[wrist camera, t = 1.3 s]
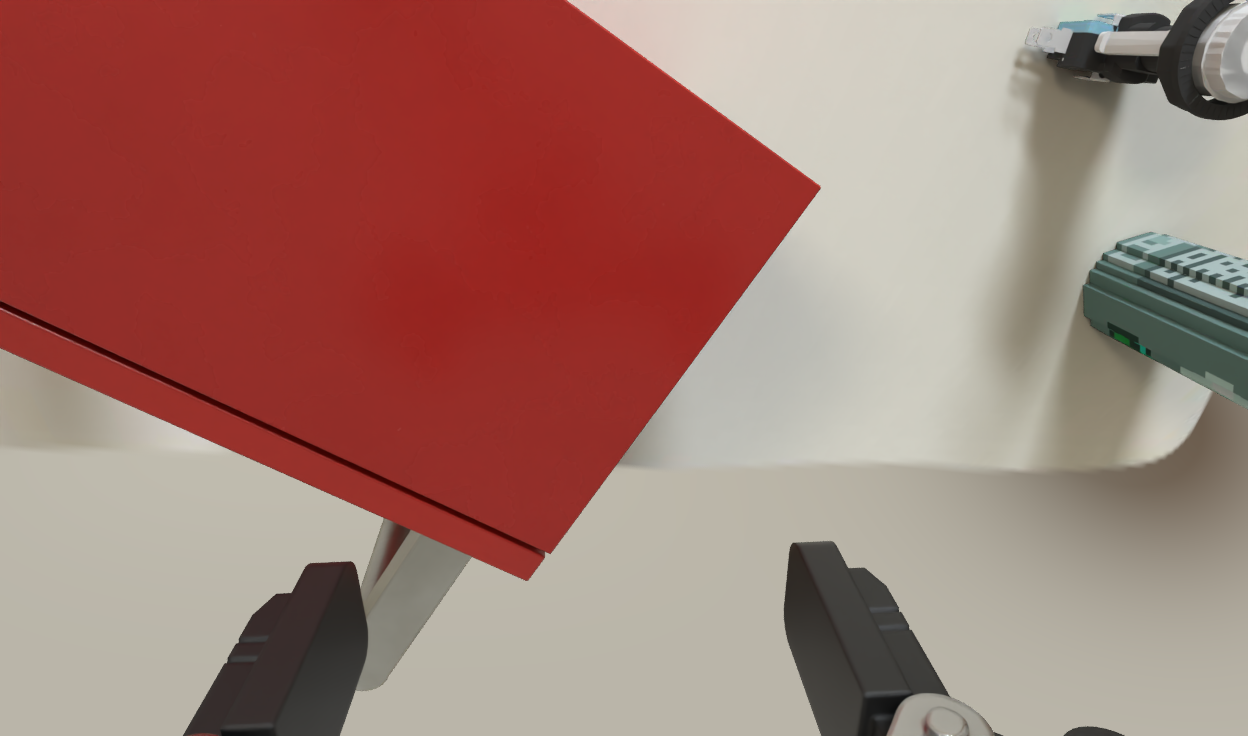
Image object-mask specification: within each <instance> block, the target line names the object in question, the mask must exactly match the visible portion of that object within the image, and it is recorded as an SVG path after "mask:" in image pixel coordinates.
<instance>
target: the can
mask: <svg viewBox="0 0 1248 736" xmlns="http://www.w3.org/2000/svg"><path fill="white" fill-rule="evenodd" d="M1083 296H1084V316H1085V317H1087V318H1089V319H1091V326H1092V327H1094V328H1096V329H1097V330H1099V331H1101V332H1103V333H1104V334H1106V335H1108V336H1110V337H1112V338H1113V339H1115V340H1117V341H1119V342H1121V343H1123V344H1125V345H1127V346H1129V347H1130V348H1132V349H1134V350H1136V351H1138V352H1140V353H1142V354H1144V355H1146V356H1147V357H1149V358H1151V359H1153V360H1155V361H1157V362H1159V363H1161V364H1163V365H1165V366H1166V367H1168V368H1170V369H1172V370H1174V371H1176V372H1178V373H1180V374H1182V375H1183V376H1185V377H1187V378H1189V379H1191V380H1193V381H1195V382H1197V383H1199V384H1200V385H1202V386H1204V387H1206V388H1208V389H1210V390H1212V391H1214V392H1216V393H1217V394H1220V395H1221V396H1223V397H1225V398H1227V399H1229V400H1231V401H1233V402H1235V403H1236V404H1238V405H1240V406H1242V407H1244V408H1246V409H1248V261H1247V260H1244V259H1241V258H1238V257H1235V256H1232V255H1228V254H1225V253H1222V252H1219V251H1216V250H1213V249H1210V248H1206V247H1203V246H1200V245H1197V244H1194V243H1191V242H1187V241H1184V240H1181V239H1178V238H1175V237H1172V236H1169V235H1165V234H1164V235H1159V234H1156V233H1153V232H1149V233H1146V234H1143V235H1139V236H1136V237H1133V238H1130V239H1126V240H1123V241H1120V242H1117V249H1115V250H1112V251H1109V252H1106V253H1103V260H1101V261H1098V262H1096V269H1093V270H1090V283H1088V284H1085V285H1083Z"/></svg>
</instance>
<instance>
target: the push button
mask: <svg viewBox="0 0 1248 736" xmlns="http://www.w3.org/2000/svg"><path fill="white" fill-rule="evenodd" d="M1232 1H1234V0H1194V1H1192V2H1191V3H1190V4H1188V5H1187V6H1186V7H1185V8H1184V9H1183V10H1182V12H1181V13H1180V15H1179V17H1178V18H1177V20H1176V21H1175V23H1174V25H1173V26H1171V25H1170V22H1171V21H1170V20H1169V19H1168V18H1167V17H1165V16H1164V15H1161V14H1157V13H1141V14H1131V15H1127V16H1125V15H1121V14H1116V13H1115V14H1098V15H1097V16H1098V17H1102V18H1107V19H1112V20H1113V21H1112V24H1111V25H1110V24H1106V23H1105V22H1100V21H1093V20H1084V21H1075V22H1060V24H1059V27H1058V29H1055V28H1046V27H1043V28H1041V29H1038V28H1033V27H1032V28H1030V29H1029V32H1028V35H1027V38H1026V41H1025V44H1027V45H1031V46H1036V47H1041V48H1043V51H1044V52H1049V54H1048V57H1047V58H1050V59H1055V60H1059V62H1058V64H1057V66H1058V67H1062V68H1067V69H1075V70H1083V71H1091V72H1092V75H1091V76H1090V77H1086V76H1074V78H1079V79H1084V80H1089V81H1100V82H1110V81H1113V82H1117V83H1129V84H1139V83H1156V82H1157V80H1158V78H1159V79H1160V82H1161V84H1162V87H1163V89H1164V92H1165V94H1166V97H1167V99H1168V101H1169V102H1170V103H1171V104H1173V105H1175V106H1177V107H1179V108H1181V109H1183V110H1185V111H1188V112H1190V113H1191V114H1193V115H1195V116H1198V117H1200V118H1204V119H1212V120H1227V119H1233V118H1237V117H1240V116H1243V115H1245V114H1247V113H1248V0H1246V1H1245V2H1243V3H1237V4H1229V3H1231V2H1232ZM1036 33H1039V35H1038V38H1037V41H1036V42H1035V41H1034V40H1033V37H1034V35H1035V34H1036ZM1201 95H1202V96H1213V97H1214V99H1211V100H1208V101H1207V100H1206V99H1204V98H1203V97H1202V96H1201Z"/></svg>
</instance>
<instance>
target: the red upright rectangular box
mask: <svg viewBox="0 0 1248 736" xmlns="http://www.w3.org/2000/svg"><path fill="white" fill-rule="evenodd" d="M820 188H821V187H820V186H819V185H818V184H817V183H815V182H814V181H813V180H811V179H810V178H809V177H807V176H806V175H804V174H803V173H802V172H800V171H799V170H798V169H796V168H795V167H793V166H792V165H791V164H789V163H788V162H787V161H785V160H784V159H783V158H781V157H780V156H778V155H777V154H776V153H774V152H773V151H772V150H770V149H769V148H768V147H766V146H765V145H763V144H762V143H761V142H759V141H758V140H757V139H755V138H754V137H753V136H751V135H750V134H748V133H747V132H746V131H744V130H743V129H742V128H740V127H739V126H737V125H736V124H735V123H733V122H732V121H731V120H729V119H728V118H727V117H725V116H724V115H722V114H721V113H720V112H718V111H717V110H716V109H714V108H713V107H712V106H710V105H709V104H707V103H706V102H705V101H703V100H702V99H701V98H699V97H698V96H697V95H695V94H694V93H692V92H691V91H690V90H688V89H687V88H686V87H684V86H683V85H681V84H680V83H679V82H677V81H676V80H675V79H673V78H672V77H671V76H669V75H668V74H666V73H665V72H664V71H662V70H661V69H660V68H658V67H657V66H656V65H654V64H653V63H651V62H650V61H649V60H647V59H646V58H645V57H643V56H642V55H641V54H639V53H638V52H636V51H635V50H634V49H632V48H631V47H630V46H628V45H627V44H625V43H624V42H623V41H621V40H620V39H619V38H617V37H616V36H615V35H613V34H612V33H610V32H609V31H608V30H606V29H605V28H604V27H602V26H601V25H600V24H598V23H597V22H595V21H594V20H593V19H591V18H590V17H589V16H587V15H586V14H585V13H583V12H582V11H580V10H579V9H578V8H576V7H575V6H574V5H572V4H571V3H569V2H568V1H567V0H0V301H2V302H4V303H6V304H8V305H10V306H13V307H15V308H17V309H19V310H21V311H23V312H26V313H28V314H30V315H32V316H34V317H36V318H39V319H41V320H43V321H45V322H47V323H49V324H52V325H54V326H56V327H58V328H60V329H62V330H65V331H67V332H69V333H71V334H73V335H75V336H78V337H80V338H82V339H84V340H86V341H89V342H91V343H93V344H95V345H97V346H99V347H102V348H104V349H106V350H108V351H110V352H112V353H115V354H117V355H119V356H121V357H123V358H125V359H128V360H130V361H132V362H134V363H136V364H138V365H141V366H143V367H145V368H147V369H149V370H152V371H154V372H156V373H158V374H160V375H162V376H165V377H167V378H169V379H171V380H173V381H175V382H178V383H180V384H182V385H184V386H186V387H188V388H191V389H193V390H195V391H197V392H199V393H201V394H204V395H206V396H208V397H210V398H212V399H214V400H217V401H219V402H221V403H223V404H225V405H228V406H230V407H232V408H234V409H236V410H238V411H241V412H243V413H245V414H247V415H249V416H251V417H254V418H256V419H258V420H260V421H262V422H264V423H267V424H269V425H271V426H273V427H275V428H277V429H280V430H282V431H284V432H286V433H288V434H291V435H293V436H295V437H297V438H299V439H301V440H304V441H306V442H308V443H310V444H312V445H314V446H317V447H319V448H321V449H323V450H325V451H327V452H330V453H332V454H334V455H336V456H338V457H340V458H343V459H345V460H347V461H349V462H351V463H353V464H356V465H358V466H360V467H362V468H364V469H367V470H369V471H371V472H373V473H375V474H377V475H380V476H382V477H384V478H386V479H388V480H390V481H393V482H395V483H397V484H399V485H401V486H403V487H406V488H408V489H410V490H412V491H414V492H416V493H419V494H421V495H423V496H425V497H427V498H430V499H432V500H434V501H436V502H438V503H440V504H443V505H445V506H447V507H449V508H451V509H453V510H456V511H458V512H460V513H462V514H464V515H466V516H469V517H471V518H473V519H475V520H477V521H479V522H482V523H484V524H486V525H488V526H490V527H492V528H495V529H497V530H499V531H501V532H503V533H506V534H508V535H510V536H512V537H514V538H516V539H519V540H521V541H523V542H525V543H527V544H529V545H532V546H534V547H536V548H538V549H540V550H542V551H545V552H547V553H549V554H551V553H552V551H553V550H554V549H555V547H556V546H557V545H558V543H559V542H560V540H561V539H562V538H563V537H564V535H565V534H566V532H567V531H568V530H569V528H570V527H571V526H572V524H573V523H574V522H575V520H576V519H577V518H578V516H579V515H580V514H581V512H582V510H583V509H584V508H585V507H586V505H587V504H588V503H589V501H590V500H591V498H592V497H593V496H594V495H595V493H596V492H597V490H598V489H599V488H600V486H601V485H602V484H603V482H604V481H605V480H606V478H607V477H608V475H609V474H610V473H611V472H612V470H613V469H614V468H615V466H616V465H617V463H618V462H619V461H620V459H621V458H622V457H623V455H624V454H625V453H626V451H627V450H628V449H629V447H630V446H631V444H632V443H633V442H634V440H635V439H636V438H637V436H638V435H639V434H640V432H641V431H642V430H643V428H644V427H645V426H646V424H647V423H648V421H649V420H650V419H651V417H652V416H653V415H654V413H655V412H656V411H657V409H658V408H659V407H660V405H661V404H662V403H663V401H664V400H665V398H666V397H667V396H668V394H669V393H670V392H671V390H672V389H673V388H674V386H675V385H676V384H677V382H678V381H679V380H680V378H681V377H682V375H683V374H684V373H685V371H686V370H687V369H688V367H689V366H690V365H691V363H692V362H693V361H694V359H695V358H696V357H697V355H698V354H699V352H700V351H701V350H702V348H703V347H704V346H705V344H706V343H707V342H708V340H709V339H710V338H711V336H712V335H713V334H714V332H715V331H716V329H717V328H718V327H719V325H720V324H721V323H722V321H723V320H724V319H725V317H726V316H727V315H728V313H729V312H730V311H731V309H732V308H733V306H734V305H735V304H736V302H737V301H738V300H739V298H740V297H741V296H742V294H743V293H744V292H745V290H746V289H747V288H748V286H749V285H750V283H751V282H752V281H753V279H754V278H755V277H756V275H757V274H758V273H759V271H760V270H761V269H762V267H763V266H764V265H765V263H766V262H767V260H768V259H769V258H770V256H771V255H772V254H773V252H774V251H775V250H776V248H777V247H778V246H779V244H780V243H781V242H782V240H783V239H784V237H785V236H786V235H787V233H788V232H789V231H790V229H791V228H792V227H793V225H794V224H795V223H796V221H797V220H798V219H799V217H800V216H801V214H802V213H803V212H804V210H805V209H806V208H807V206H808V205H809V204H810V202H811V201H812V200H813V198H814V197H815V196H816V194H817V193H818V191H819V190H820Z"/></svg>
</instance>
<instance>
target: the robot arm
mask: <svg viewBox="0 0 1248 736" xmlns="http://www.w3.org/2000/svg"><path fill="white" fill-rule="evenodd" d="M784 622H785V630H786V635H787V639H788V643H789V646H790V649H791V651H792V655H793V657H794V660H795V663H796V666H797V669H798V671H799V674H800V677H801V680H802V683H803V686H804V688H805V691H806V694H807V697H808V700H809V702H810V705H811V708H812V711H813V714H814V717H815V719H816V722H817V725H818V727H819V731H820V733H821V736H1003V735H1000V734H997V733H995V732H993V730H992V729H991V727H990V726H989V724H988V723H987V722H986V720H985V719H984V718H983V717H982V716H981V715H980V714H979V713H977V712H976V711H975V710H974V709H972V708H971V707H969V706H968V705H966V704H965V703H962V702H961V701H959V700H956V699H954V698H951V697H950V696H949V695H948V692H947V691H946V689H945V687H944V686H943V684H942V682H941V680H940V679H939V677H938V675H937V673H936V672H935V670H934V668H933V667H932V665H931V663H930V661H929V659H928V658H927V656H926V654H925V652H924V651H923V649H922V647H921V645H920V644H919V642H918V640H917V639H916V637H915V635H914V633H913V632H912V630H909V625H908V623H907V621H906V619H905V618H904V616H903V614H902V613H901V612H899V607H898V606H897V604H896V602H895V600H894V599H893V597H892V595H891V593H890V592H889V590H888V588H887V586H886V585H884V584H883V583H882V582H881V581H879V580H878V579H877V578H876V577H875V576H874V575H873V574H871V573H870V572H869V571H868V570H867V569H865V568H848V567H847V565H846V563H845V561H844V559H843V557H842V555H841V553H840V552H839V550H838V548H837V546H836V545H835V543H834V542H832V541H823V542H803V543H802V542H801V543H792V545H791V547H790V552H789V561H788V571H787V582H786V592H785V602H784ZM367 650H368V626H367V621H366V616H365V610H364V605H363V600H362V595H361V590H360V585H359V580H358V574H357V570H356V567H355V565H354V563H353V562H351V561H350V562H329V563H310V564H308V565H307V566H306V567H305V569H304V571H303V573H302V574H301V576H300V578H299V580H298V582H297V584H296V586H295V588H294V589H293V591H292V593H286V594H285V593H284V594H276V595H275V596H273V597H272V598H271V599H270V600H269V601H268V602H267V603H266V604H264V605H263V606H262V607H261V608H260V609H259V610H258V611H257V612H255V614H253V615H252V617H251V619H250V620H249V622H248V624H247V626H246V627H245V629H244V631H243V632H242V634H241V636H240V638H239V643H237V644H236V645H235V646H234V648H233V650H232V652H231V653H230V655H229V657H228V661H227V663H225V664H224V665H223V667H222V669H221V671H220V673H219V674H218V676H217V678H216V679H215V681H214V683H213V685H212V686H211V688H210V690H209V692H208V693H207V695H206V697H205V699H204V700H203V702H202V704H201V705H200V707H199V709H198V710H197V712H196V714H195V716H194V717H193V719H192V721H191V723H190V724H189V726H188V728H187V730H186V731H185V733H184V735H183V736H340V733H341V730H342V727H343V724H344V722H345V719H346V716H347V713H348V710H349V707H350V704H351V702H352V699H353V696H354V693H355V690H356V687H357V684H358V682H359V679H360V676H361V673H362V670H363V667H364V664H365V661H366V656H367ZM1064 736H1124V735H1122V734H1119V733H1117V732H1114V731H1111V730H1108V729H1104V728H1098V727H1088V726H1087V727H1078V728H1075V729H1072V730H1070V731H1068V732H1067V733H1066V734H1065V735H1064Z"/></svg>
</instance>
